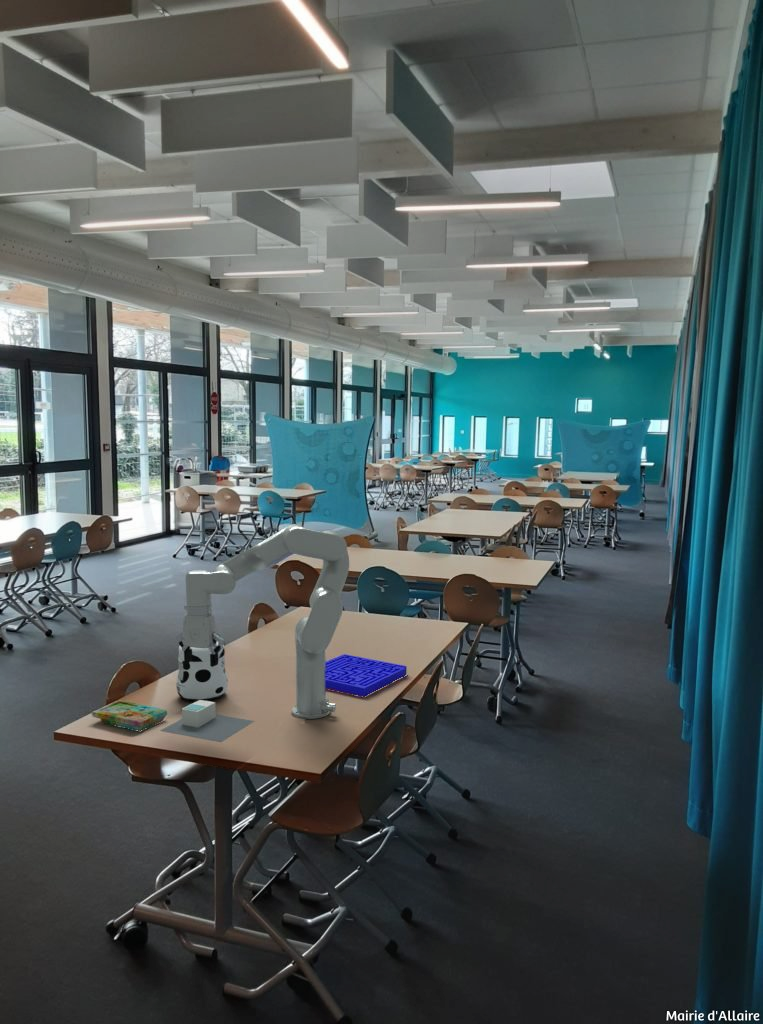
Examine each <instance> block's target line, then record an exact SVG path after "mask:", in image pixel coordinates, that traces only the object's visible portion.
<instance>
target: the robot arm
mask: <svg viewBox="0 0 763 1024" xmlns="http://www.w3.org/2000/svg"><path fill="white" fill-rule="evenodd" d="M294 554H295V555H299V556H302V557H307V558H312V559H318V560H322V567H321V570H320V572H319V573H320V574H319V576H318V579H317V581H316V583H315V586H314V588H313V591H312V593H311V595H310V598H309V601H308V602H309V607H310V613H309V615H306V616H304V617H302V618H301V619H299V621H297V624H295V625H296V626H295V628H294V644H295V679H296V680H295V683H296V684H295V689H296V690H295V692H296V693H295V695H296V696H295V699H296V702H295V706H293V707H292V708H291V714H292V716H294V717H295V718H299V719H305V720H313V719H315V720H316V719H321V718H324V717H327V716H328V715H330V713H331V712H332V713H335V712H336V710H337V707H336V706H337V704H336V703H331V702H329V697H326V695H327V694H326V690H327V689H326V671H325V666H326V661H327V660H326V649H327V648H328V647H329V645H330V643H331V641H332V639H333V636H334V635H335V632H336V630H337V627H338V625H339V622H340V620H341V617H342V614H343V610H344V602H343V600H342V597H341V594H342V591H343V589H344V586H345V583H346V580H347V578H348V575H349V571H350V556H349V552H348V544H347V541H346V540H345V538H344V537H343V536H342V535H340V533H339V534H338V533H337V532H336V531H333V530H329V529H328V530H324V531H319V530H314V529H309V528H305V527H303V525H300V524H298V523H293V524H290V525H288V526H286V527H284V528H282V529H280V530H279V531H277V532H276V533H274V534H272V535H271V536H269V537H268V538H266V539H263V540H262V541H261V542H258V543H257V544H256V545H255V544H254V546H252V547H250V548H248V549H246V550H244V551H242V552H240V553H238V554H236V555H234V556H232V557H231V558H229V559H227V560H226V561H224V562H223V563H221V564H219V565H218V566H216V567H215V568H214V569H213V570H212V572H209V571H208V570H206V569H194V570H189V571H188V572H187V573H186V574H185V595H186V597H185V598H186V604H185V605H184V608H183V609H184V610H186V613H185V614H184V616H183V617H184V618H183V623H182V632H181V633H179V634H177V635H176V640H177V642H178V644H179V646H181V647H182V650H183V651H184V662H185V663H186V664H187V663H189V662H191V661H192V649H190V647H195V648H208V649H209V650H210V652H211V653H212V654H210V666H211V667H214V666H216V665H218V652H220V650H221V649H222V648H223V645H224V646H225V642H226V640H225V639H224V638H222V637H221V636H220V635H218V633H217V625H216V619H215V617H214V616H215V615H214V613H213V608H212V595H223V596H225V595H229V594H231V593H232V592H233V591H234V590H235V588H236V586H237V582H239V581H240V580H241V579H243V578H245V577H246V576H249V575H250V574H253V573H255V572H259V571H267V570H269V569H271V568H273V567H274V566H276V565H278V564H279V563H281V562H282V561H284V560H285V559H286V560H287V558H288V557H291V556H292V555H294ZM217 642H218V646H217V645H216V643H217Z"/></svg>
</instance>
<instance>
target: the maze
mask: <svg viewBox="0 0 763 1024" xmlns="http://www.w3.org/2000/svg"><path fill="white" fill-rule="evenodd" d="M325 671H326V690H327V689H330V690H329V691H331V690H334V691H333V692H335V691H339V692H338V693H340V692H343V693H342V694H344V693H349V694H353V695H358V696H363V697H365V696H367V695H368V694H370V693H372V692H374V691H376V690H378V689H380V688H382V687H384V686H386V685H388V684H390V683H392V682H393V681H395V680H397V679H399V678H401V677H404V676H405V675H406V674H407V665H404V664H398V663H392V662H388V661H381V660H376V659H371V658H366V657H361V656H355V655H350V654H347V653H346V654H345V653H344V654H341V655H339V656H336V657H334V658H331V659H329V660H326V666H325ZM349 694H348V695H349ZM353 695H352V696H353ZM367 697H368V696H367ZM365 698H366V697H365Z"/></svg>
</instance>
